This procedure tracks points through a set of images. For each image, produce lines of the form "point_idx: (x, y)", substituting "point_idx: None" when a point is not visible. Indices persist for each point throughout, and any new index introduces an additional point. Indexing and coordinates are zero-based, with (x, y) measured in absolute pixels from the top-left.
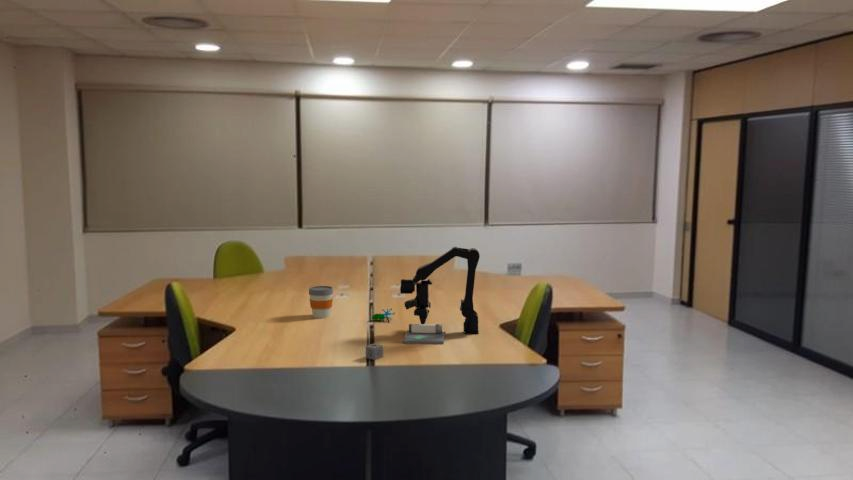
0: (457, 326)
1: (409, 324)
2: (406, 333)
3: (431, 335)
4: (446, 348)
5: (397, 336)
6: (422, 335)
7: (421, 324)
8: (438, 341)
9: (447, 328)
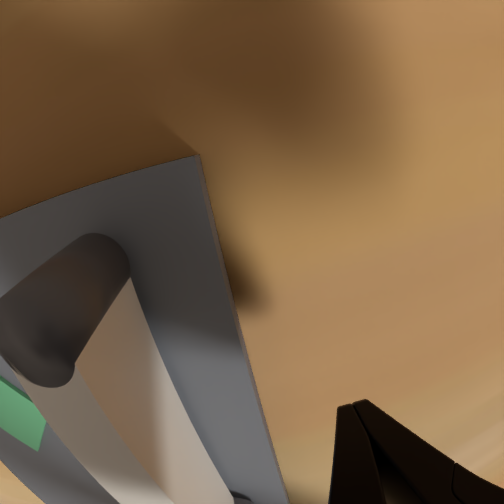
0: (479, 458)
1: (22, 310)
2: (44, 205)
3: None
4: (14, 494)
5: (20, 84)
6: None
7: (163, 502)
8: (36, 493)
9: (451, 448)
